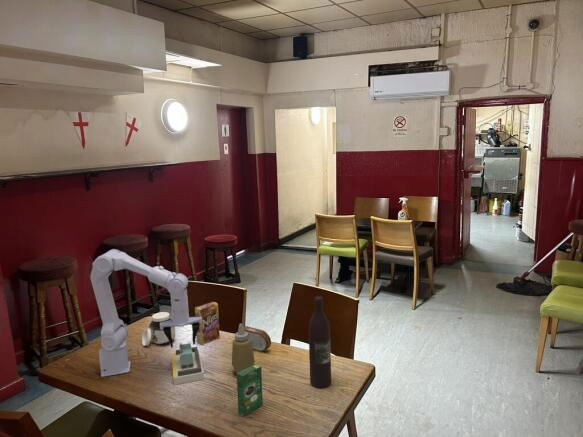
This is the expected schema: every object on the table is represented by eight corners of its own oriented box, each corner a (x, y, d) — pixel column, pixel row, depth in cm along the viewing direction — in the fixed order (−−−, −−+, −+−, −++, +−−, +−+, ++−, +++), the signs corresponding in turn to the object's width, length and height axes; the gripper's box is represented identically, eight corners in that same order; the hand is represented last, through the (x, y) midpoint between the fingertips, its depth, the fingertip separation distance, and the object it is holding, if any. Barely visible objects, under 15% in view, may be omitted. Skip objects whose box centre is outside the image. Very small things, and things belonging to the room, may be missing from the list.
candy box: (202, 345, 176) (199, 309, 174) (196, 342, 179) (193, 307, 177) (220, 338, 182) (218, 303, 180) (214, 335, 185) (212, 300, 183)
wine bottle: (314, 390, 142) (311, 302, 137) (307, 379, 149) (304, 295, 144) (334, 386, 144) (332, 300, 139) (327, 375, 151) (325, 292, 145)
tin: (271, 351, 170) (271, 330, 168) (267, 354, 167) (266, 334, 166) (240, 343, 177) (239, 323, 176) (236, 346, 175) (234, 326, 173)
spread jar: (178, 340, 182) (176, 314, 179) (157, 352, 172) (154, 324, 170) (158, 334, 188) (156, 309, 186) (137, 345, 179) (134, 318, 176)
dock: (174, 384, 148) (173, 374, 148) (172, 360, 165) (171, 350, 165) (203, 379, 151) (203, 368, 151) (199, 355, 168) (198, 345, 168)
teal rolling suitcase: (181, 369, 153) (179, 352, 152) (179, 359, 161) (178, 342, 160) (194, 367, 154) (192, 350, 153) (192, 357, 162) (190, 340, 161)
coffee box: (257, 400, 138) (255, 362, 135) (263, 404, 136) (261, 365, 133) (237, 412, 132) (235, 373, 130) (244, 416, 130) (241, 376, 128)
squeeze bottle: (251, 378, 150) (248, 329, 147) (229, 377, 152) (225, 328, 149) (257, 366, 158) (255, 320, 155) (236, 365, 160) (233, 318, 157)
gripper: (158, 315, 149) (162, 353, 152) (201, 310, 153) (204, 346, 156) (158, 308, 156) (161, 344, 158) (200, 303, 160) (202, 337, 162)
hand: (182, 344), depth 157 cm, fingers open, 7 cm apart
